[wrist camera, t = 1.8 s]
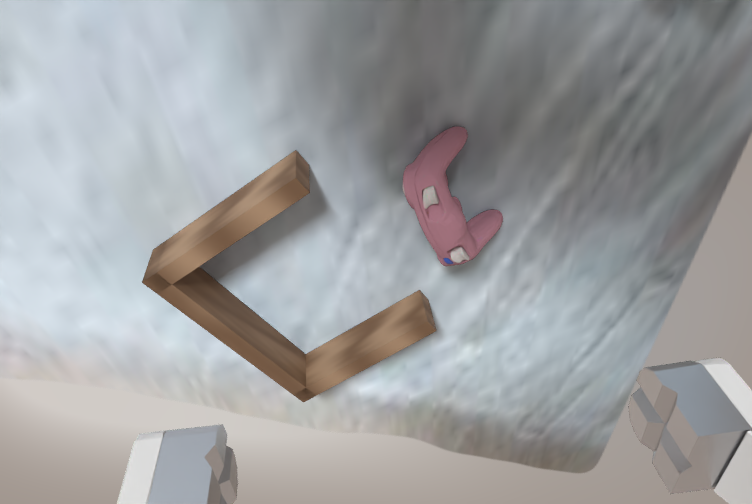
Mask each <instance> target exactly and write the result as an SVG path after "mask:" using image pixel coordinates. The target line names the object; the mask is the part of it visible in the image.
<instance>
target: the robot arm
mask: <svg viewBox="0 0 752 504" xmlns="http://www.w3.org/2000/svg"><path fill="white" fill-rule="evenodd" d="M637 382H638V383H639V385H640V387H641V388H640V389H638V390H637V391H636V392H635V393H634V394H632V395H631V399H630V403H629V406H628V407H629V415H630V421H631V424H632V427H633V430H634V432H635V433H636V435H637V437H638V439H639V441H640V442H641V443H642V444H644V445H645V446H647V447H648V448H650V449H652V450H653V451H654V453H653V460H652V463H653V465H654V467H655V468H656V470H657V472H658V474H659V475H660V477H661V479H662V480H663V482H664V484H665V486H666V487H667V489H668V491H669V492H670V494H674V493H683V492H691V491H700V490H708V489H714V492H715V493H716V494H718V495H719V496H720V497H721V498H723V499H724V500H725V501H727V502H728V503H729V504H752V390H751V389H750V388H749V386H748V385H747V384H746V383H745V382H744V380H743V379H742V378H741V377H740V376H739V375H738V373H737V372H736V371H735V370H734V369H733V367H732V366H731V365H730V364H729V363H728V362H727V361H725V360H724V359H722V358H712V359H705V360H698V361H686V362H679V363H673V364H666V365H659V366H652V367H645V368H644V369H642V370H641V371H640V372H639V375H638V378H637ZM226 443H227V433H226V431H225V428H224V426H223V425H214V426H205V427H195V428H186V429H177V430H167V431H159V432H151V433H143V434H139V435H138V437H137V439H136V440H135V442H134V443H133V448H132V451H131V455H130V458H129V462H128V465H127V469H126V472H125V476H124V480H123V483H122V487H121V491H120V494H119V498H118V502H117V504H233V503H234V501H235V500H236V498H237V486H238V480H237V465H236V459H235V455H234V452H233V449H231V448H230V447H228V446H226Z"/></svg>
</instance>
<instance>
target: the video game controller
mask: <svg viewBox="0 0 752 504" xmlns="http://www.w3.org/2000/svg"><path fill="white" fill-rule="evenodd" d="M467 137H468V133H467V130H466V129H465V128H463V127H458V126H456V127H452V128H449V129H447V130H445V131H443V132H442V133H440V134H439V135H437V136H436V137H435V138H433V139H432V140H431V141H430V142H429V143H428V144H427V145H426V146H425V147H424V148H423V150H422V151H421V152H420V154H419V155H418V156H417V158H416V159H415V161H414V162H413V163H411V164H409V165H408V166H407V167H406V168H405V171H404V174H403V192H404V194H405V196H406V199H407V201H408V203H409V205H410V206H411V207H412V208H413V209H414V210H415V212H416V215H417V217H418V220H419V222H420V225H421V227H422V229H423V231H424V233H425V235H426V237H427V239H428V241H429V243H430V244H431V246H432V247H433V249H434V250H435V252H436V253H437V257H438V259H439V261H440V262H441V264H442V265H444V266H451V265H459V264H463V263H466V262H468V261H470V260H472V259H473V258H475V257H476V256H477V254H478V253H479V252H480V251H481V249H482V248H483V247H484V246H485V244H486V243H487V242H488V241H489V240H490V239H491V238H492V237H493V236H494V235H495V233H496V232H497V231H498V230H499V229H500V227H501V224H502V222H503V216H502V213H501V212H500V211H498V210H494V209H491V210H487V211H484V212H482V213H480V214H478V215H477V216H475V217H473V218H472V219H471V220H469V221H468V222H467V223H466V219H465V216H464V214H463V213H462V207H461V204H460V202H459V200H458V199H457V198H456V197H452V196H451V194H450V191H449V188H448V180H447V175H446V169H447V167H448V166H449V164H450V163H451V161H452V160H453V159H454V158H455V156H456V155H457V154H458V153H459V151H460V150H461V149H462V148H463V146H464V144H465V142H466V140H467Z"/></svg>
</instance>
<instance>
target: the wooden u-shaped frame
mask: <svg viewBox="0 0 752 504" xmlns="http://www.w3.org/2000/svg"><path fill="white" fill-rule="evenodd" d="M309 193H310V186H309V164H308V163H307V162H306V161H305V160H304V158H303V157H302V156H301V155H300V154H299V153H298V152H297V151H296V150H295V151H294V152H292V153H291V154H290V155H288V156H287V157H285V158H284V159H282V160H281V161H280V162H278V163H277V164H275V165H274V166H272V167H271V168H270V169H268V170H267V171H265V172H264V173H262V174H261V175H259V176H258V177H257V178H255V179H254V180H252V181H251V182H249V183H248V184H247V185H245V186H244V187H242V188H241V189H239V190H238V191H237V192H235V193H234V194H232V195H231V196H229V197H228V198H227V199H225V200H224V201H222V202H221V203H219V204H218V205H216V206H215V207H214V208H212V209H211V210H209V211H208V212H206V213H205V214H204V215H202V216H201V217H199V218H198V219H196V220H195V221H194V222H192V223H191V224H189V225H188V226H186V227H185V228H184V229H182V230H181V231H179V232H178V233H176V234H175V235H173V236H172V237H171V238H169V239H168V240H166V241H165V242H163V243H162V244H161V245H159V246H158V247H156V248H155V249H153V252H152V255H151V257H150V260H149V263H148V266H147V269H146V272H145V275H144V278H143V281H142V283H143V284H145V285H146V286H147V287H149V288H150V289H151V290H153V291H154V292H156V293H157V294H158V295H160V296H161V297H162V298H164V299H165V300H166V301H168V302H169V303H170V304H172V305H173V306H174V307H176V308H177V309H178V310H180V311H181V312H182V313H184V314H185V315H187V316H188V317H189V318H191V319H192V320H193V321H195V322H196V323H197V324H199V325H200V326H201V327H203V328H204V329H205V330H207V331H208V332H209V333H211V334H212V335H213V336H215V337H216V338H217V339H219V340H220V341H222V342H223V343H224V344H226V345H227V346H228V347H230V348H231V349H232V350H234V351H235V352H236V353H238V354H239V355H240V356H242V357H243V358H244V359H246V360H247V361H248V362H250V363H251V364H253V365H254V366H255V367H257V368H258V369H259V370H261V371H262V372H263V373H265V374H266V375H267V376H269V377H270V378H271V379H273V380H274V381H275V382H277V383H278V384H279V385H281V386H282V387H283V388H285V389H286V390H288V391H289V392H290V393H292V394H293V395H294V396H296V397H297V398H298V399H300V400H301V401H302V402H305V401H307V400H309V399H311V398H313V397H314V396H316V395H318V394H320V393H322V392H324V391H326V390H327V389H329V388H331V387H333V386H335V385H337V384H339V383H340V382H342V381H344V380H346V379H348V378H350V377H352V376H353V375H355V374H357V373H359V372H361V371H363V370H365V369H367V368H368V367H370V366H372V365H374V364H376V363H378V362H380V361H381V360H383V359H385V358H387V357H389V356H391V355H393V354H394V353H396V352H398V351H400V350H402V349H404V348H406V347H407V346H409V345H411V344H413V343H415V342H417V341H419V340H420V339H422V338H424V337H426V336H428V335H430V334H432V333H433V332H435V331H436V327H435V323H434V320H433V316H432V312H431V309H430V305H429V301H428V299H427V298H426V297H425V295H424V294H423V293H422V292H421V291H420V290H419V291H417V292H415V293H413V294H412V295H410V296H408V297H406V298H404V299H403V300H401V301H399V302H397V303H396V304H394V305H392V306H390V307H389V308H387V309H385V310H383V311H382V312H380V313H378V314H376V315H374V316H373V317H371V318H369V319H367V320H366V321H364V322H362V323H360V324H359V325H357V326H355V327H353V328H352V329H350V330H348V331H346V332H344V333H343V334H341V335H339V336H337V337H336V338H334V339H332V340H330V341H329V342H327V343H325V344H323V345H322V346H320V347H318V348H316V349H314V350H313V351H311V352H309V353H307V354H305V353H303V352H302V351H301V350H300V349H299V348H297V347H296V346H295V345H294V344H292V343H291V342H290V341H289V340H288V339H286V338H285V337H284V336H283V335H281V334H280V333H279V332H278V331H277V330H275V329H274V328H273V327H272V326H271V325H269V324H268V323H267V322H266V321H264V320H263V319H262V318H261V317H260V316H258V315H257V314H256V313H255V312H254V311H252V310H251V309H250V308H249V307H247V306H246V305H245V304H244V303H243V302H241V301H240V300H239V299H238V298H236V297H235V296H234V295H233V294H232V293H230V292H229V291H228V290H227V289H226V288H224V287H223V286H222V285H221V284H219V283H218V282H217V281H216V280H215V279H213V278H212V277H211V276H210V275H208V274H207V273H206V272H205V271H204V270H202V269H201V268H200V267H199V266H201V265H202V264H204V263H205V262H207V261H208V260H210V259H211V258H213V257H214V256H216V255H217V254H219V253H220V252H222V251H223V250H225V249H226V248H228V247H229V246H231V245H232V244H234V243H235V242H237V241H238V240H240V239H241V238H243V237H244V236H246V235H247V234H249V233H250V232H252V231H253V230H255V229H256V228H258V227H259V226H261V225H262V224H264V223H265V222H267V221H268V220H270V219H271V218H273V217H274V216H276V215H277V214H279V213H280V212H282V211H283V210H285V209H286V208H288V207H289V206H291V205H292V204H294V203H295V202H297V201H298V200H300V199H301V198H303V197H304V196H306V195H307V194H309Z"/></svg>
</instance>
